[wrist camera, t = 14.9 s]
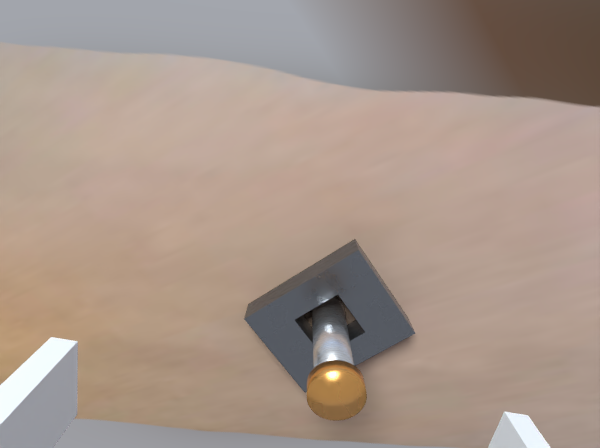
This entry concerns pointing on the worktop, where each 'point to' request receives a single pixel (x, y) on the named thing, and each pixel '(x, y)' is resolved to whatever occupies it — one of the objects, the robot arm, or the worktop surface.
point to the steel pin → (333, 366)
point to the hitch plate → (316, 290)
